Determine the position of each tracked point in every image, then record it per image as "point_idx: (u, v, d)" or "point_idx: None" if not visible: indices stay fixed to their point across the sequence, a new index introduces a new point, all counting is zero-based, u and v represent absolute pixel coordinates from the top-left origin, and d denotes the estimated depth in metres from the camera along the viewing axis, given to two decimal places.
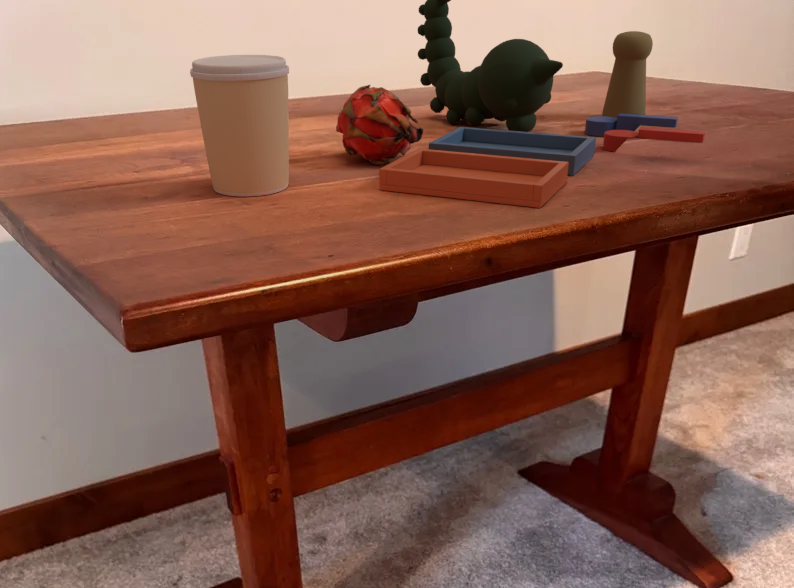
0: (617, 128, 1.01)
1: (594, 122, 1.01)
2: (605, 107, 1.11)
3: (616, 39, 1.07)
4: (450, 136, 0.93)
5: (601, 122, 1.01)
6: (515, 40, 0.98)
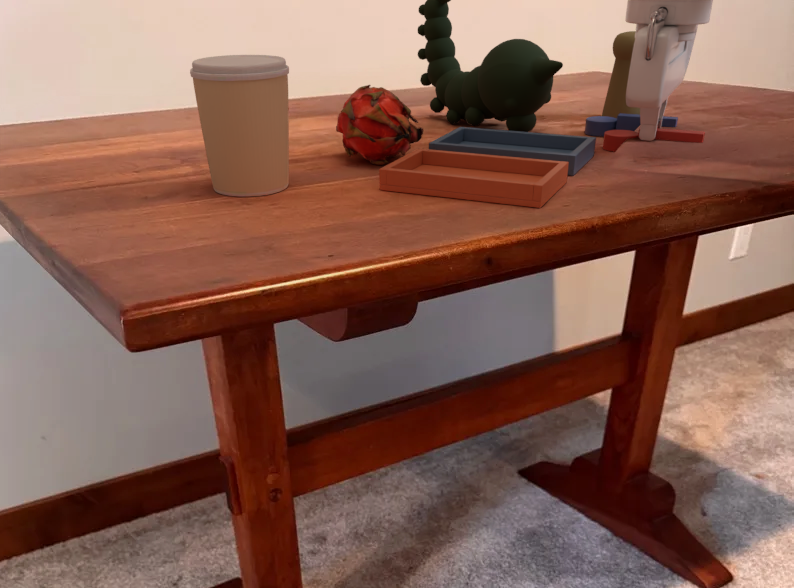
0: (617, 128, 1.01)
1: (594, 122, 1.01)
2: (605, 107, 1.11)
3: (616, 39, 1.07)
4: (450, 136, 0.93)
5: (601, 122, 1.01)
6: (515, 40, 0.98)
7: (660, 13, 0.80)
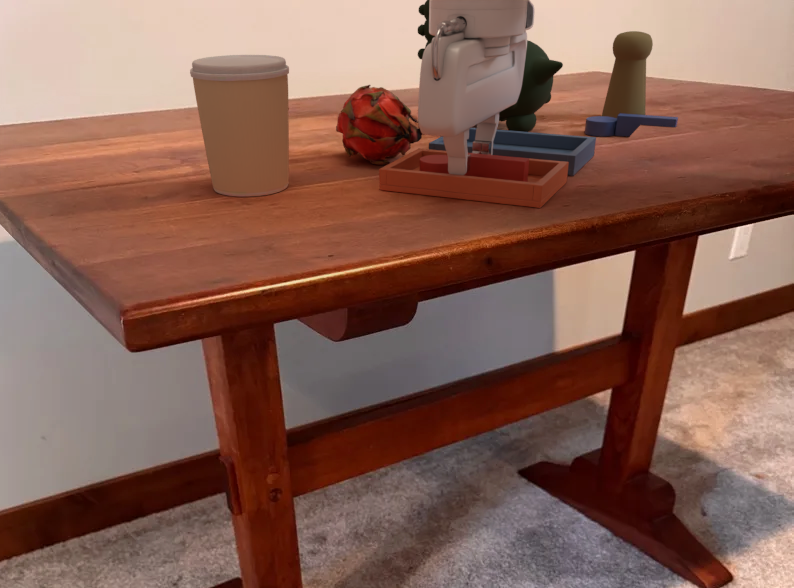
0: (617, 128, 1.01)
1: (594, 122, 1.01)
2: (605, 107, 1.11)
3: (616, 39, 1.07)
4: None
5: (601, 122, 1.01)
6: None
7: (447, 24, 0.67)
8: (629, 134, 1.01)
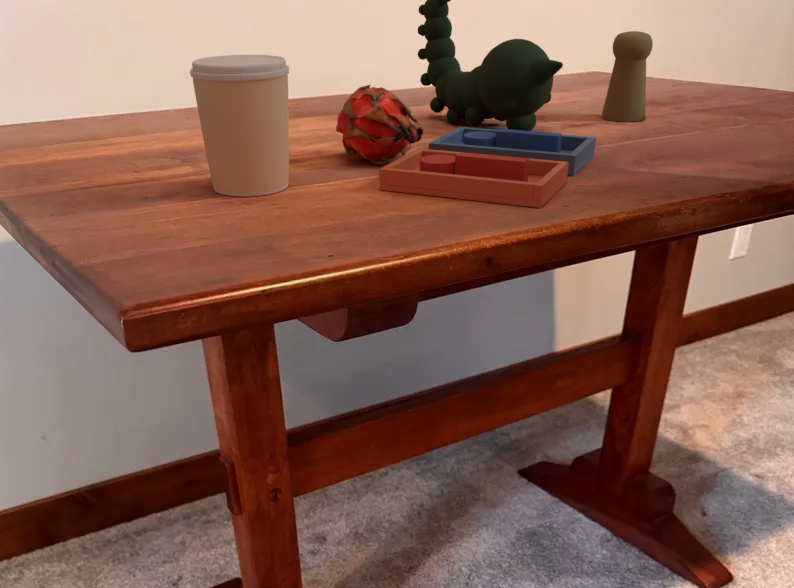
0: (497, 145, 0.91)
1: (470, 138, 0.90)
2: (605, 107, 1.11)
3: (616, 39, 1.07)
4: (450, 136, 0.93)
5: (478, 138, 0.90)
6: (515, 40, 0.98)
7: None
8: None
